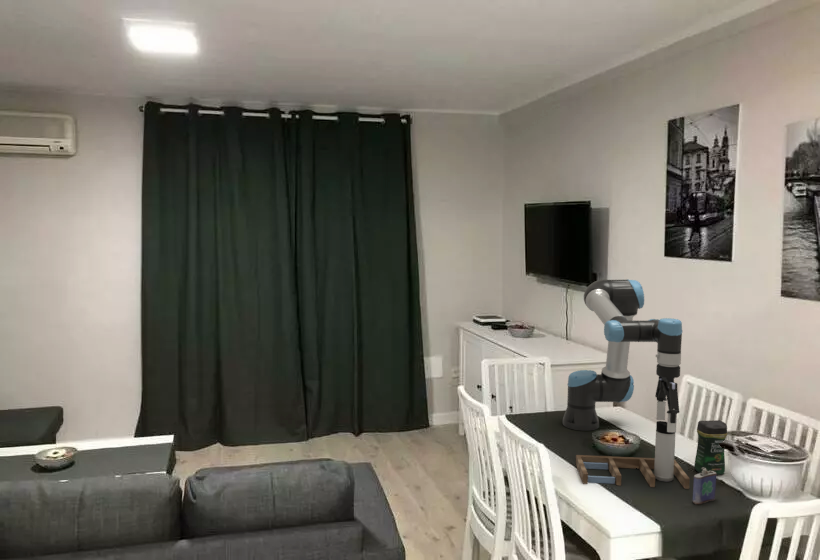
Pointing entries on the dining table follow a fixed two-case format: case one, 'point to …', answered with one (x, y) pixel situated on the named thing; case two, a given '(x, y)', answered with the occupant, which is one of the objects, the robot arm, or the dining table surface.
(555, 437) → the dining table surface
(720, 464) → the coffee jar
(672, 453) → the travel mug
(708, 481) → the flask
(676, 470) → the divider rack
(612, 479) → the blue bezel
